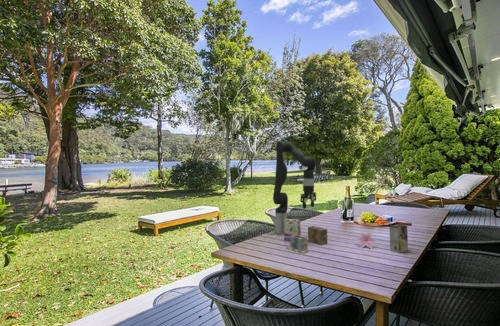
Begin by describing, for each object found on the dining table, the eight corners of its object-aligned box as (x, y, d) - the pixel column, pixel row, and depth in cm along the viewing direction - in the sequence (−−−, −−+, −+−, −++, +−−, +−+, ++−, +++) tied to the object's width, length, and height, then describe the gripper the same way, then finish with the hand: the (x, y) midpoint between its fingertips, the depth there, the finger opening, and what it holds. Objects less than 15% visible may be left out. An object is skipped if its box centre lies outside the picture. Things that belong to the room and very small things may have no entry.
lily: (352, 246, 194) (353, 236, 190) (361, 237, 201) (362, 227, 196) (369, 256, 186) (370, 245, 181) (378, 246, 193) (379, 235, 188)
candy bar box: (301, 242, 204) (300, 219, 204) (298, 244, 200) (298, 220, 200) (286, 240, 210) (286, 218, 210) (284, 242, 205) (283, 219, 205)
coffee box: (398, 248, 186) (398, 223, 186) (408, 250, 181) (407, 225, 181) (389, 250, 182) (389, 225, 182) (398, 253, 176) (398, 227, 176)
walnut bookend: (308, 241, 202) (307, 227, 202) (313, 239, 205) (313, 226, 205) (321, 245, 192) (321, 230, 192) (327, 243, 196) (327, 229, 196)
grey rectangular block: (286, 248, 190) (285, 234, 190) (312, 241, 207) (312, 228, 207) (303, 253, 178) (302, 238, 178) (329, 245, 195) (329, 231, 195)
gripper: (310, 183, 207) (310, 205, 207) (297, 185, 198) (297, 208, 199) (319, 184, 201) (319, 207, 202) (306, 185, 192) (305, 209, 193)
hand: (308, 207), depth 200 cm, fingers open, 8 cm apart
